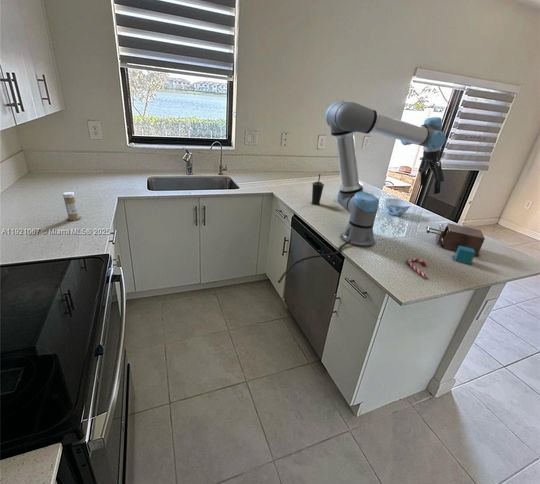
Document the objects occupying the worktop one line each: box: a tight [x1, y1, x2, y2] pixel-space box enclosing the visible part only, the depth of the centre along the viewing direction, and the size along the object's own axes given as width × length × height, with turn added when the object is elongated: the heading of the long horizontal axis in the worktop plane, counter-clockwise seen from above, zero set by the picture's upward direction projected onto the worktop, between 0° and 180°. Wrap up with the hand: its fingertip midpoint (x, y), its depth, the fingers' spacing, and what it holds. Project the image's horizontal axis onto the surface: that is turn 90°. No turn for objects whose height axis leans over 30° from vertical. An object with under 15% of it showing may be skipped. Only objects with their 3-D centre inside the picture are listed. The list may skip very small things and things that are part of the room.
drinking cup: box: [311, 173, 325, 206], centre depth 188 cm, size 8×8×20 cm
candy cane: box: [407, 257, 428, 279], centre depth 123 cm, size 8×1×15 cm
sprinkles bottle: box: [62, 191, 80, 221], centre depth 141 cm, size 5×5×13 cm
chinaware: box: [384, 198, 411, 217], centre depth 184 cm, size 15×15×8 cm
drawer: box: [425, 223, 449, 246], centre depth 146 cm, size 19×10×8 cm, turn 64°
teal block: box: [454, 246, 475, 265], centre depth 132 cm, size 4×6×6 cm
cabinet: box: [442, 222, 486, 257], centre depth 144 cm, size 15×12×10 cm
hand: (429, 189), depth 156 cm, fingers open, 13 cm apart
